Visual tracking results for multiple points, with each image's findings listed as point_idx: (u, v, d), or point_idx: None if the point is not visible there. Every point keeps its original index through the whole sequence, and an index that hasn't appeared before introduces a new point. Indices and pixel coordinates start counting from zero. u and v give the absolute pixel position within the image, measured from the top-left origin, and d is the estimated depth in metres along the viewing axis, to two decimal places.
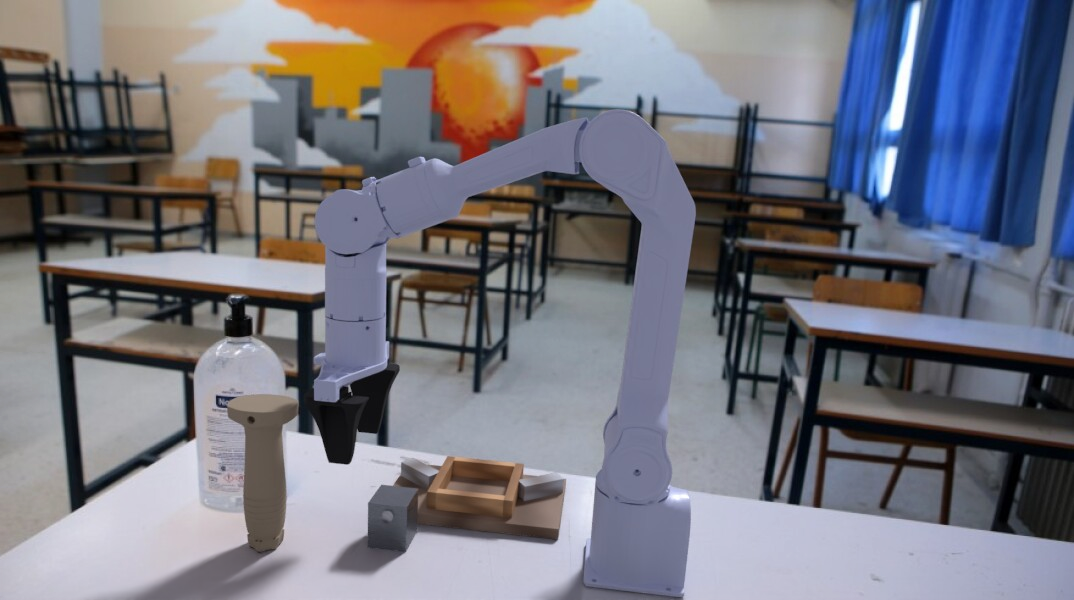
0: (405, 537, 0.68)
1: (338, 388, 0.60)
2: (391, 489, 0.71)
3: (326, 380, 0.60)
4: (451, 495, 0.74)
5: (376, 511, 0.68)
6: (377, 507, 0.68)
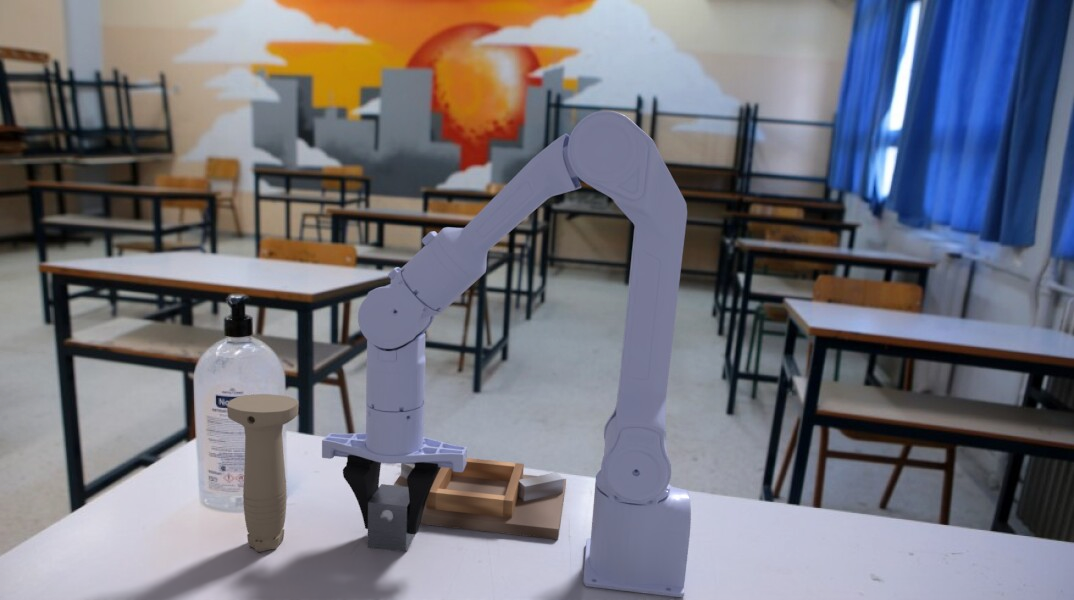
0: (405, 536, 0.68)
1: (328, 448, 0.68)
2: (391, 489, 0.71)
3: (327, 437, 0.69)
4: (451, 495, 0.74)
5: (376, 510, 0.68)
6: (377, 507, 0.68)
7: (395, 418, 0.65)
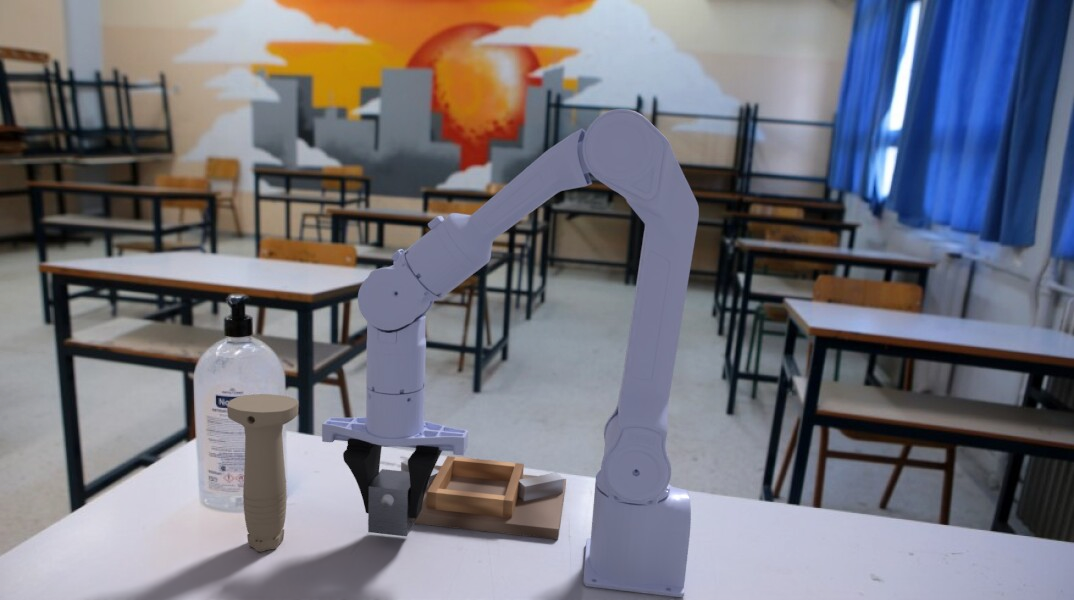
0: (406, 521, 0.68)
1: (328, 432, 0.68)
2: (391, 473, 0.70)
3: (327, 421, 0.68)
4: (451, 495, 0.74)
5: (377, 495, 0.67)
6: (378, 491, 0.67)
7: (395, 400, 0.64)
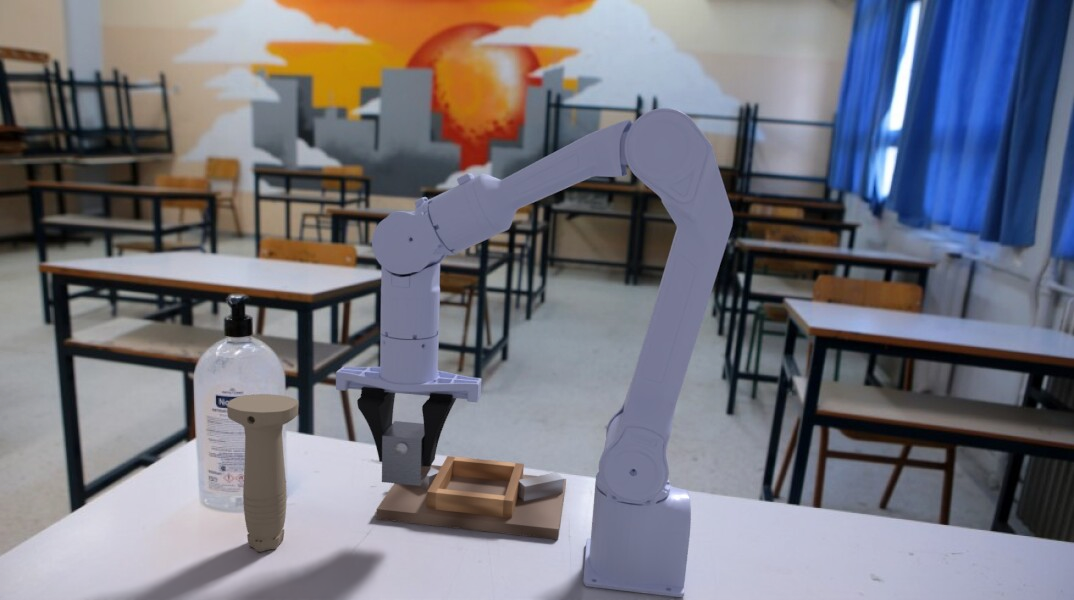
0: (420, 470, 0.68)
1: (342, 380, 0.68)
2: (404, 425, 0.70)
3: (341, 369, 0.69)
4: (451, 495, 0.74)
5: (390, 444, 0.67)
6: (392, 440, 0.67)
7: (410, 346, 0.65)
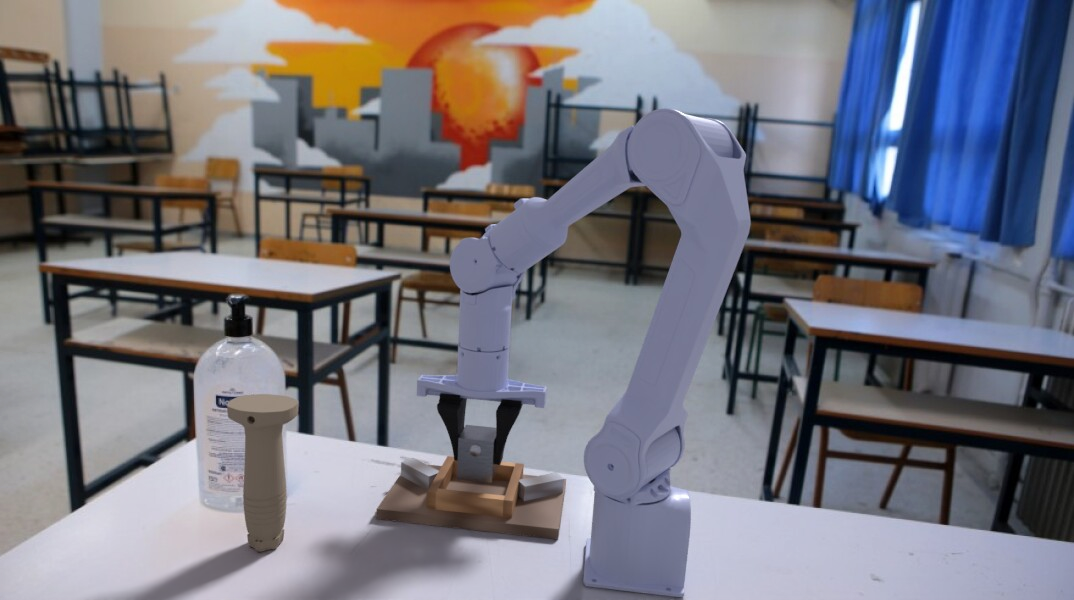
0: (491, 469, 0.76)
1: (422, 387, 0.76)
2: (476, 428, 0.78)
3: (421, 377, 0.77)
4: (451, 495, 0.74)
5: (465, 445, 0.75)
6: (467, 442, 0.75)
7: (487, 357, 0.73)
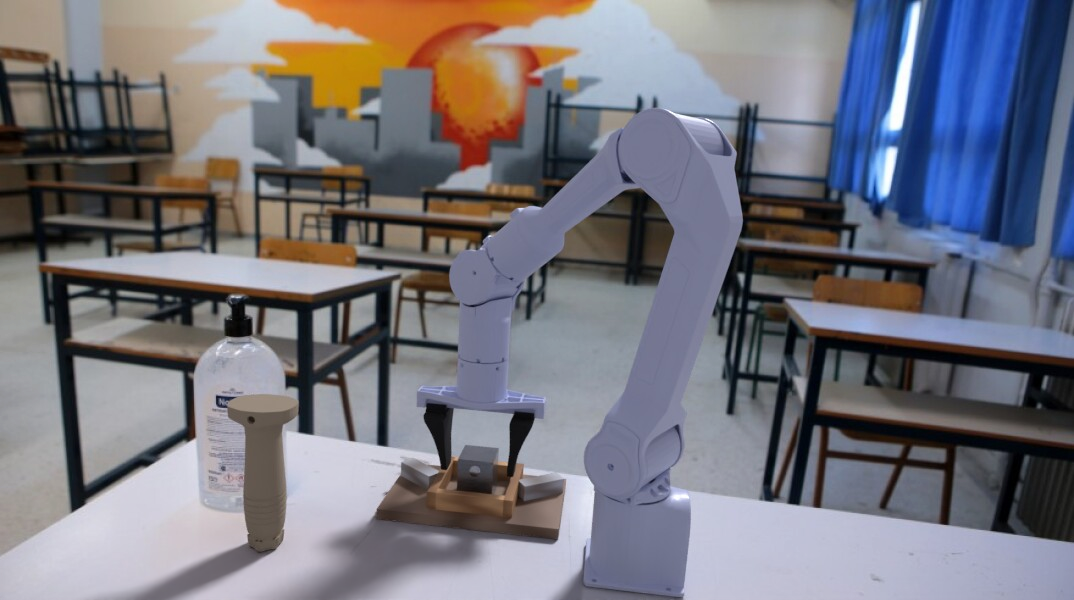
0: (491, 489, 0.76)
1: (422, 398, 0.76)
2: (475, 448, 0.79)
3: (421, 388, 0.77)
4: (451, 495, 0.74)
5: (465, 466, 0.76)
6: (466, 463, 0.76)
7: (486, 369, 0.73)
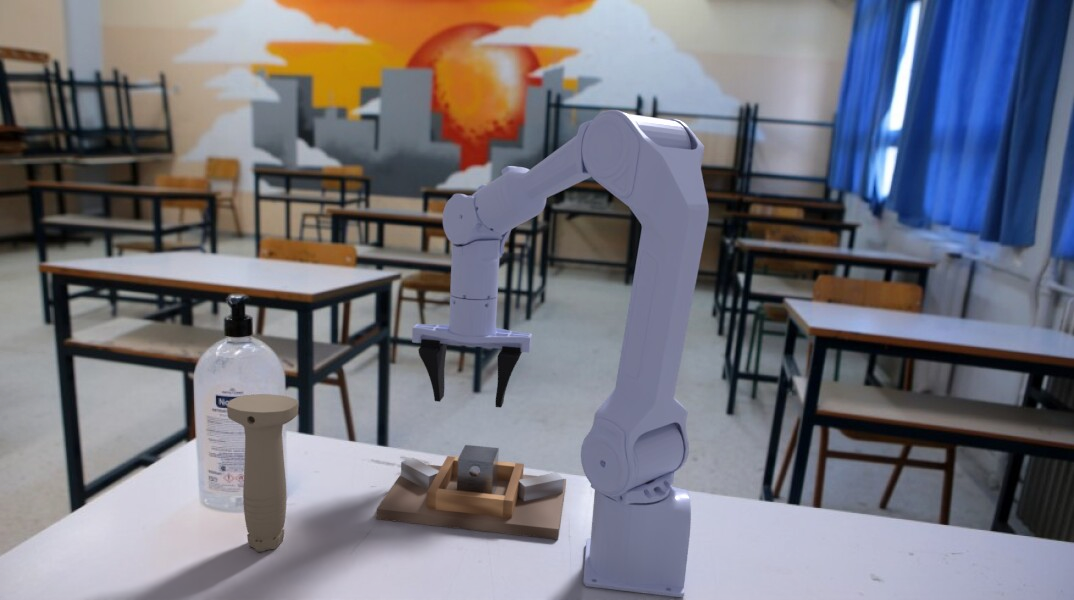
0: (491, 489, 0.76)
1: (417, 334, 0.82)
2: (475, 448, 0.79)
3: (416, 325, 0.83)
4: (451, 495, 0.74)
5: (465, 466, 0.76)
6: (466, 463, 0.76)
7: (476, 305, 0.79)
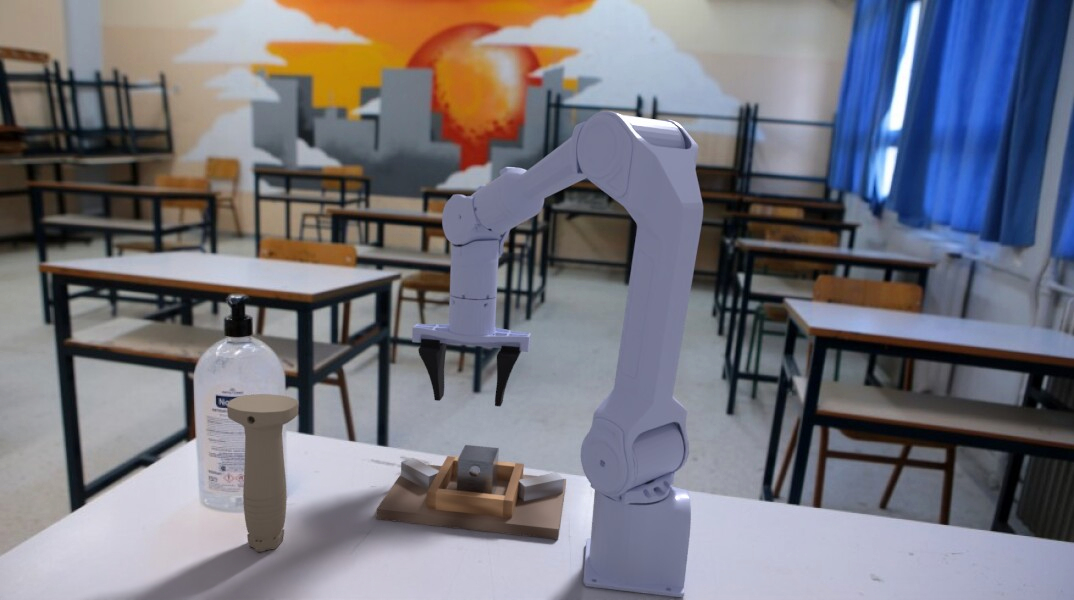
0: (491, 489, 0.76)
1: (417, 333, 0.83)
2: (475, 448, 0.79)
3: (416, 325, 0.84)
4: (451, 495, 0.74)
5: (465, 466, 0.76)
6: (466, 463, 0.76)
7: (475, 304, 0.80)
